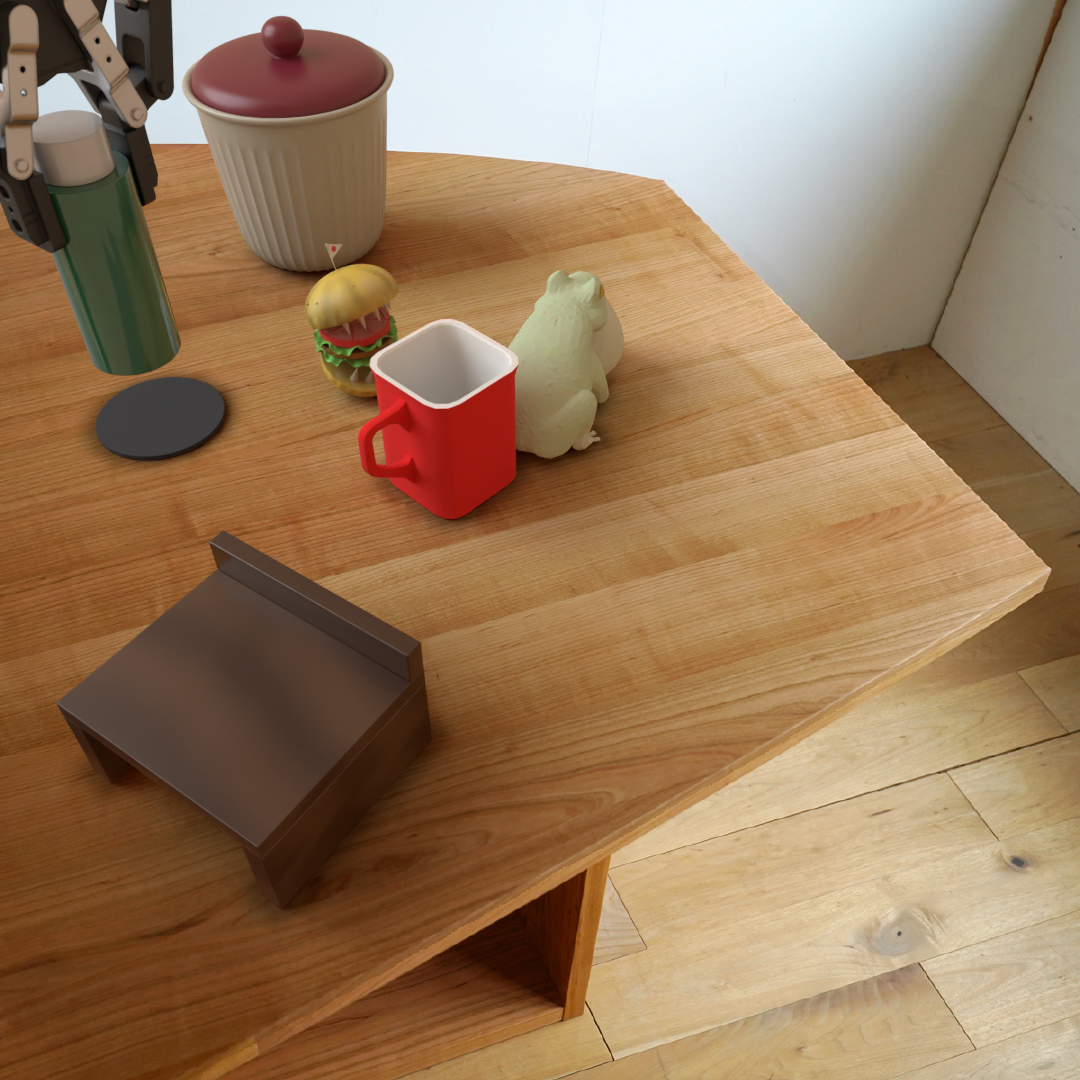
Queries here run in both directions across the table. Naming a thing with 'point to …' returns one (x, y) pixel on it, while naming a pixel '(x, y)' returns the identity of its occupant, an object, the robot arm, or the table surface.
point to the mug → (444, 417)
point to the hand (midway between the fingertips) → (93, 220)
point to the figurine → (564, 364)
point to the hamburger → (352, 322)
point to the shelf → (261, 711)
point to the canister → (298, 140)
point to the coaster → (160, 418)
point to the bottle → (105, 246)
